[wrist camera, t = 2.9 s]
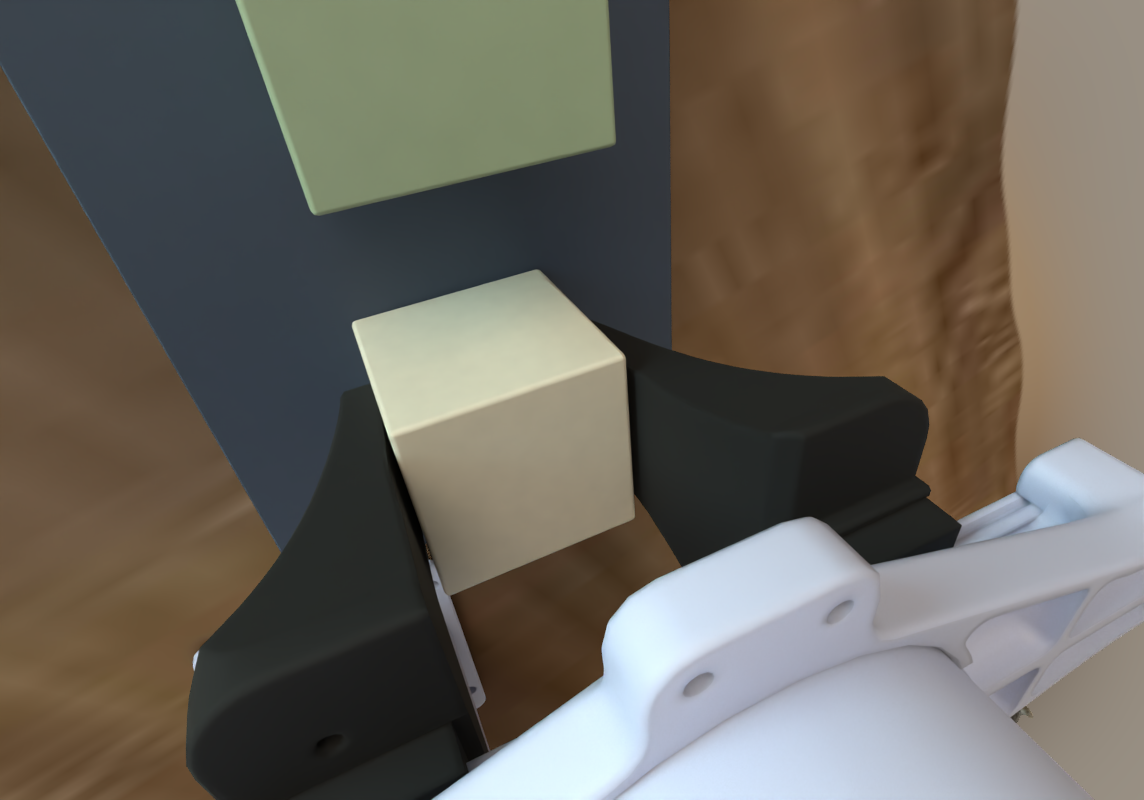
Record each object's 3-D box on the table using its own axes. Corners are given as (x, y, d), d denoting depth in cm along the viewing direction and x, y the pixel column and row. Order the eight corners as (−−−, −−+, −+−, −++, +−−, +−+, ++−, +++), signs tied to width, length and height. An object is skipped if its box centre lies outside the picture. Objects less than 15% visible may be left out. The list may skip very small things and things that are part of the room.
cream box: (559, 414, 16) (637, 519, 13) (403, 469, 15) (446, 599, 12) (538, 266, 13) (627, 354, 10) (349, 320, 12) (387, 435, 9)
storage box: (610, 379, 21) (672, 447, 18) (291, 489, 19) (303, 592, 16) (552, -361, 11) (667, -475, 8) (-148, -363, 9) (-348, -535, 6)
